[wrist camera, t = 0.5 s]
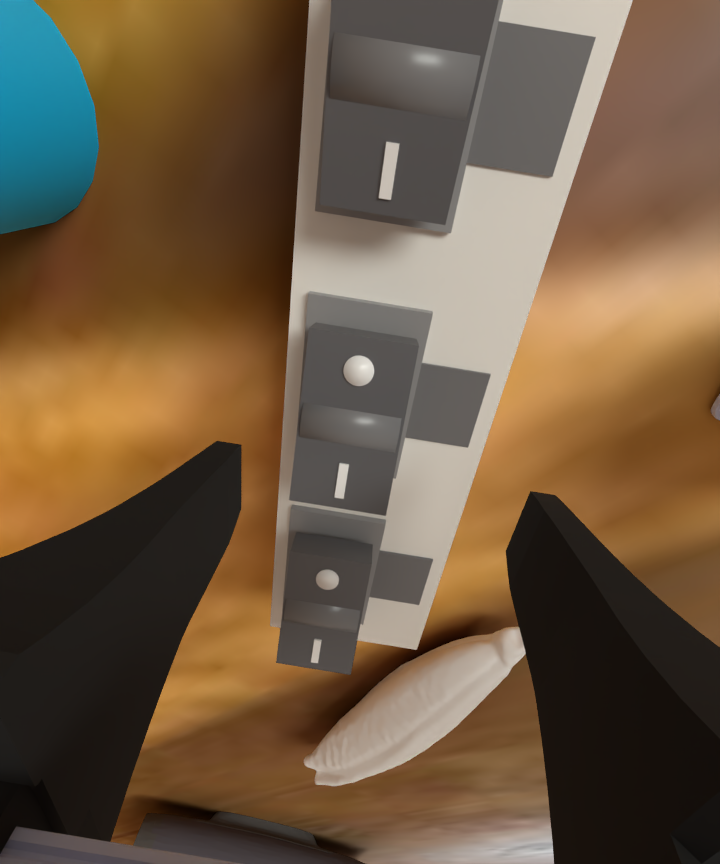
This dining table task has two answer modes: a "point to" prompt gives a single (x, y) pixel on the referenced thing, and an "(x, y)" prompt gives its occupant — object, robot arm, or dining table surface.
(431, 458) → the power strip
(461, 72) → the dark grey block
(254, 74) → the dining table surface
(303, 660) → the rocker slate
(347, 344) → the rocker dark gray
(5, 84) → the mug
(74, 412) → the dining table surface
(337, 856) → the bluetooth speaker
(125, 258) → the dining table surface
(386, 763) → the white corn cob
